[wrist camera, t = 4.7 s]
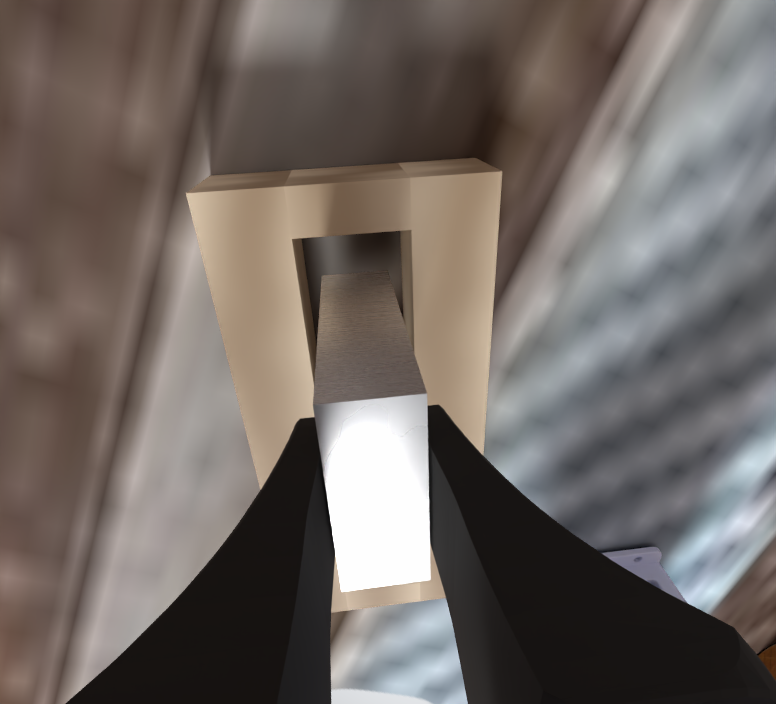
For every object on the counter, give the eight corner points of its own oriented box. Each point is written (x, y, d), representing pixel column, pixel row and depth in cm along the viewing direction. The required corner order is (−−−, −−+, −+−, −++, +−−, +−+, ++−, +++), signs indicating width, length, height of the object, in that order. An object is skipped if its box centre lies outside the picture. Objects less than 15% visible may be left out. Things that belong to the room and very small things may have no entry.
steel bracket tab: (387, 270, 14) (427, 393, 8) (395, 405, 17) (430, 579, 11) (321, 275, 14) (312, 405, 8) (338, 411, 17) (342, 591, 11)
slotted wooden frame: (475, 157, 16) (502, 171, 14) (459, 543, 26) (473, 594, 24) (210, 175, 16) (186, 193, 13) (296, 563, 26) (292, 617, 23)
